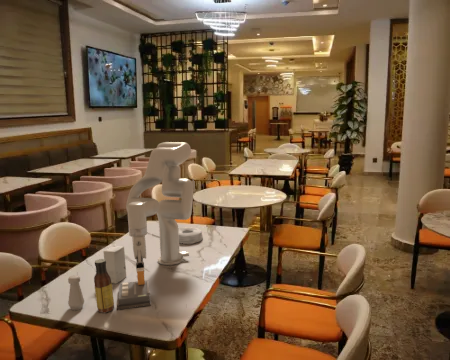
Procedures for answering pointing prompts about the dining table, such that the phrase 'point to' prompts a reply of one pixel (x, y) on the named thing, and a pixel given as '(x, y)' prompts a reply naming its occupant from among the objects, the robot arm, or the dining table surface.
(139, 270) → the lever
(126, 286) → the breaker panel
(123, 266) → the skincare box
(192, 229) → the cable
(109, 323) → the dining table surface
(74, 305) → the salt shaker
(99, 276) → the sauce bottle
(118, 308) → the dark brown grooved strip
